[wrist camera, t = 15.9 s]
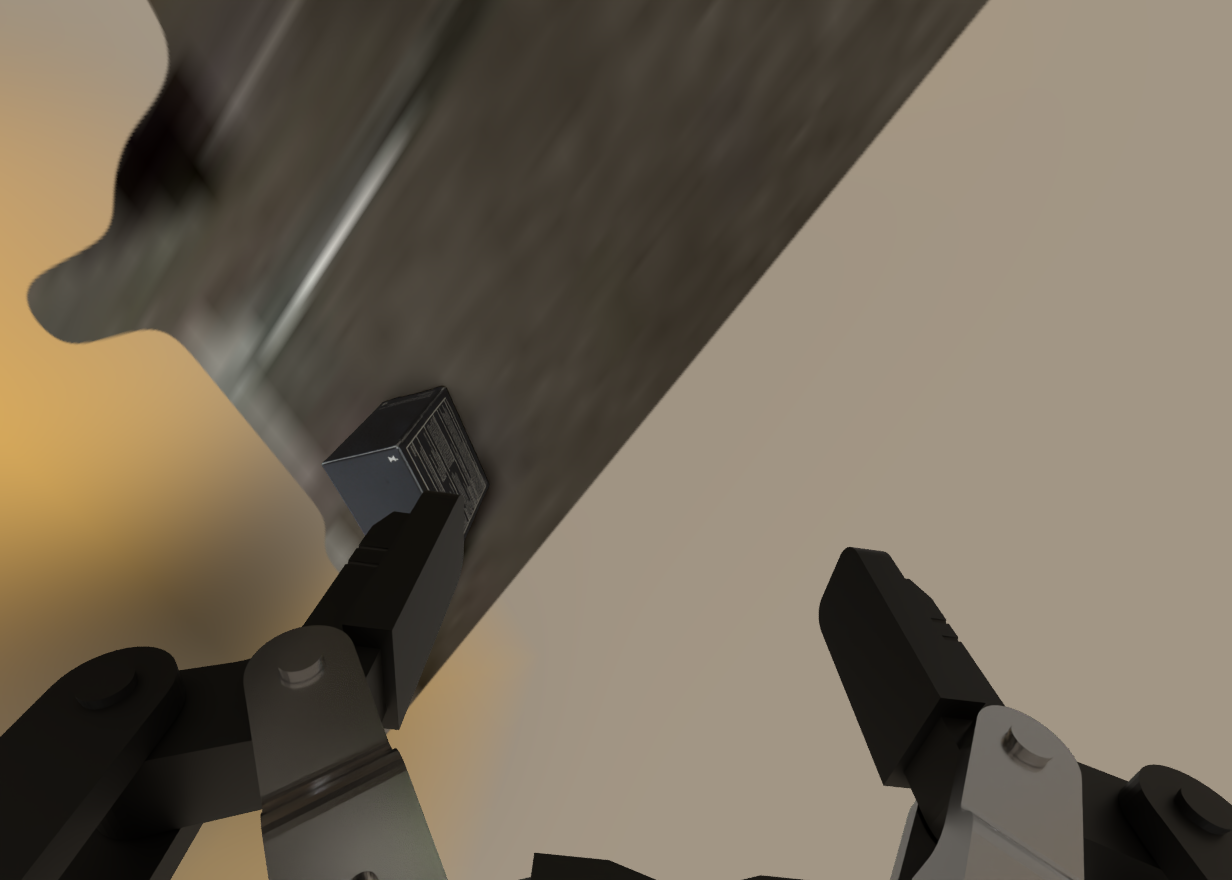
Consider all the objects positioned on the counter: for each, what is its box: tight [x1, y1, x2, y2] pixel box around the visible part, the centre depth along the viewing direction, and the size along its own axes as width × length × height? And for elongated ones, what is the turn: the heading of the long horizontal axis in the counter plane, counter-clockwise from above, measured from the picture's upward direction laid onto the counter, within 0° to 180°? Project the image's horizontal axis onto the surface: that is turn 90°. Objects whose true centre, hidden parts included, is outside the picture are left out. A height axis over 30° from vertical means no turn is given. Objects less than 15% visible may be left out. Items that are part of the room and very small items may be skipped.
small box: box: [322, 387, 489, 540], centre depth 44 cm, size 11×6×10 cm, turn 15°
